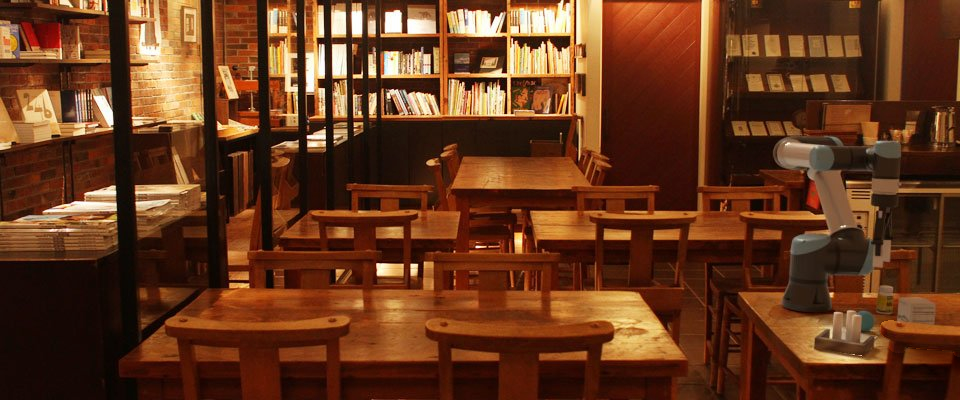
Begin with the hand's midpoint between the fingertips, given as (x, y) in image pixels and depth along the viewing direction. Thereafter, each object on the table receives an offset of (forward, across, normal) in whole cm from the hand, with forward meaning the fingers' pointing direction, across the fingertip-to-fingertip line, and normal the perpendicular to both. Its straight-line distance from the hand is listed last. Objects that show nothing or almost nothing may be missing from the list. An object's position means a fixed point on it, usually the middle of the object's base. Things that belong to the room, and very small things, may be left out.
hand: (881, 264), depth 308 cm
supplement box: (+19, -18, -12) cm, 29 cm away
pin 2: (+19, -31, +1) cm, 37 cm away
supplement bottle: (+18, +17, +1) cm, 25 cm away
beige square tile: (+19, -20, +3) cm, 28 cm away
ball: (+16, -11, +2) cm, 19 cm away
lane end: (+19, -33, +4) cm, 38 cm away
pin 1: (+19, -31, +6) cm, 37 cm away
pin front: (+19, -27, +3) cm, 33 cm away
